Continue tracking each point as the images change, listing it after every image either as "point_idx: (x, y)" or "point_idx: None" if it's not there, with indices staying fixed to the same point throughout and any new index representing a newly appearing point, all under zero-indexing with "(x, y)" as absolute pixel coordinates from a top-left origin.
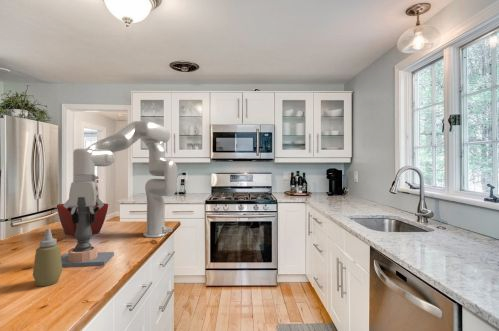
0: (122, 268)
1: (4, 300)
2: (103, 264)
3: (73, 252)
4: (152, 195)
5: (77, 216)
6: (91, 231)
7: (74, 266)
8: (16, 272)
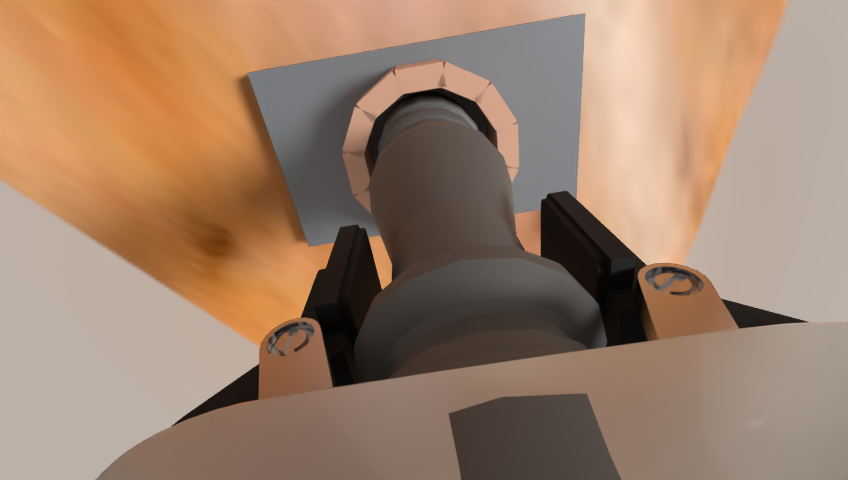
0: (662, 224)
1: None
2: None
3: None
4: None
5: (361, 296)
6: (508, 178)
7: None
8: (221, 286)
